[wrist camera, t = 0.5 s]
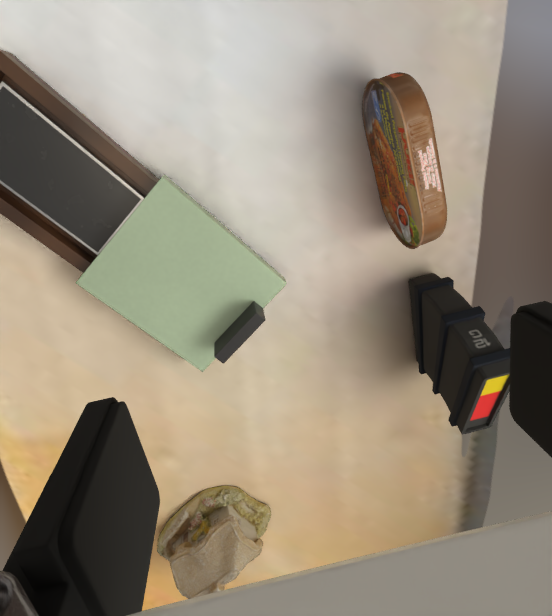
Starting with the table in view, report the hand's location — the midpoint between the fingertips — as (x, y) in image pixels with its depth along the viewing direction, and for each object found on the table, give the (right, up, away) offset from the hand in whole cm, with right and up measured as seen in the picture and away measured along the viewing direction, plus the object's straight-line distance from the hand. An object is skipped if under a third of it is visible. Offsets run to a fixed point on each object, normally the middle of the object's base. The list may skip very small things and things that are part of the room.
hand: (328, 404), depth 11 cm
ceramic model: (-9, -26, +48) cm, 56 cm away
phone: (-21, +14, +29) cm, 38 cm away
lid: (-10, +5, +33) cm, 35 cm away
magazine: (+16, 0, +41) cm, 44 cm away
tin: (+10, +17, +33) cm, 38 cm away
